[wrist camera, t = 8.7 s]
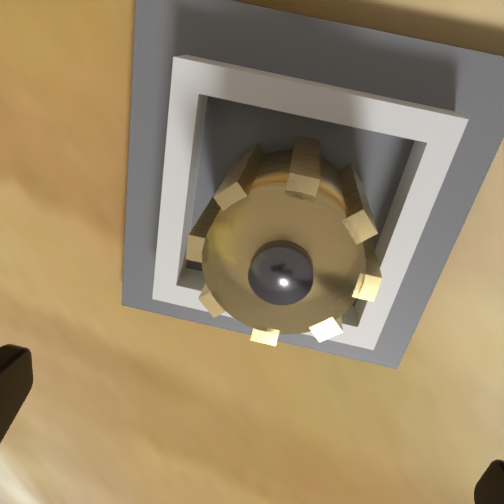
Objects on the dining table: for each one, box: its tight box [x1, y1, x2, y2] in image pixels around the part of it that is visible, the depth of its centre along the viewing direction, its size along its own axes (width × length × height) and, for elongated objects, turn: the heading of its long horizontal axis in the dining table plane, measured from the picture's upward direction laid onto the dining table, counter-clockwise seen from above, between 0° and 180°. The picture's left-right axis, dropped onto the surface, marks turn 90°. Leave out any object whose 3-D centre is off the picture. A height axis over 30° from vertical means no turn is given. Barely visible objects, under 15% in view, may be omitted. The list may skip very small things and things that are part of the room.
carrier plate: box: [122, 0, 504, 369], centre depth 18 cm, size 14×14×2 cm
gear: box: [186, 135, 382, 346], centre depth 16 cm, size 6×6×6 cm
